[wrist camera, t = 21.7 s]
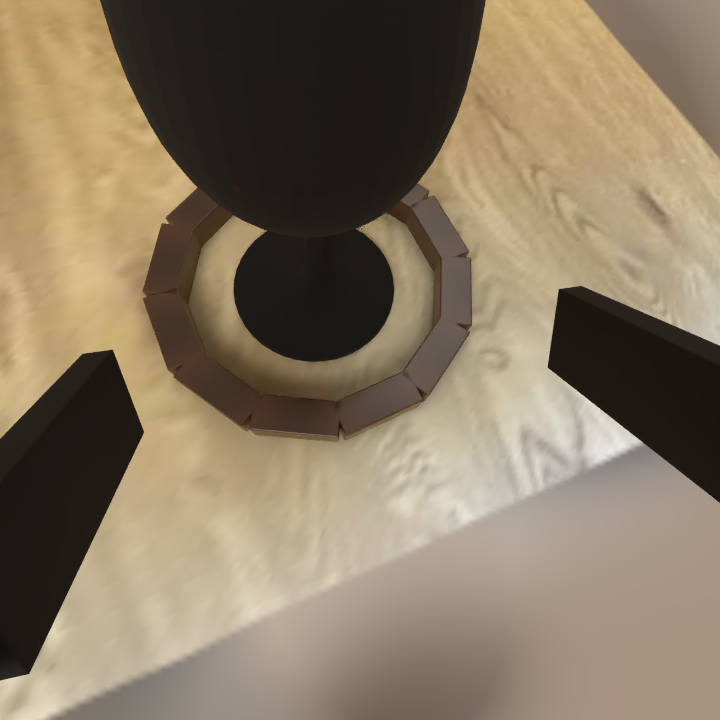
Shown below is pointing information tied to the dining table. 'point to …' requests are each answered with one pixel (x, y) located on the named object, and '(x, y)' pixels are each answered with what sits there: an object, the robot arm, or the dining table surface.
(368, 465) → the dining table surface
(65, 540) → the robot arm
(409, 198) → the walnut ring
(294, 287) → the wine glass
